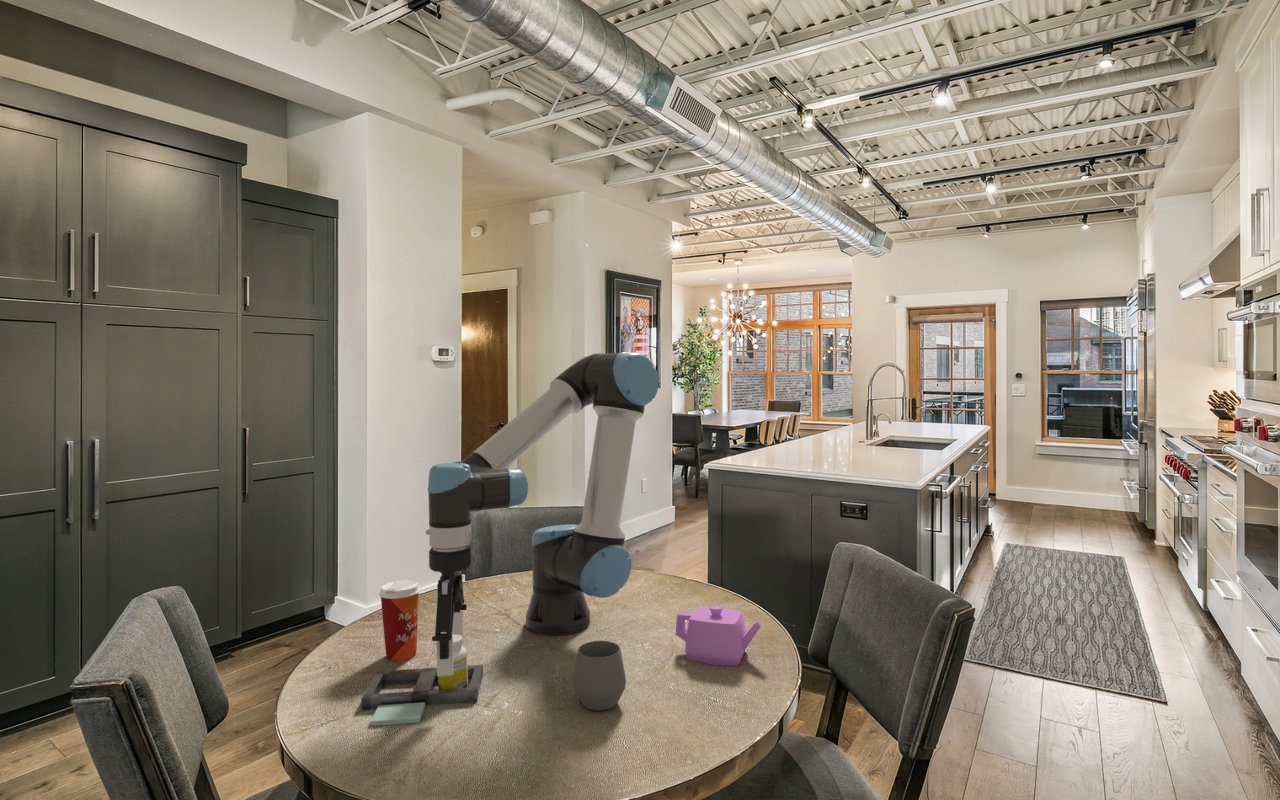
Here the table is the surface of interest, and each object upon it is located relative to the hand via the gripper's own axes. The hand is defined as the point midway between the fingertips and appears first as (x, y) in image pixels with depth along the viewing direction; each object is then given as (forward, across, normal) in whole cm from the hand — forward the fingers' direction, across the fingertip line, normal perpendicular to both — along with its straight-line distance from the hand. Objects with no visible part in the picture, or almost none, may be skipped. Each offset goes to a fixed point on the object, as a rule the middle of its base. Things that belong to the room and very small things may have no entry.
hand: (450, 659), depth 127 cm
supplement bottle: (+6, 0, 0) cm, 6 cm away
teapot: (+6, -8, +53) cm, 54 cm away
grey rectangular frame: (+6, 0, -5) cm, 8 cm away
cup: (+6, +9, +27) cm, 29 cm away
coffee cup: (+6, -18, -13) cm, 23 cm away
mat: (+6, +8, -8) cm, 13 cm away
